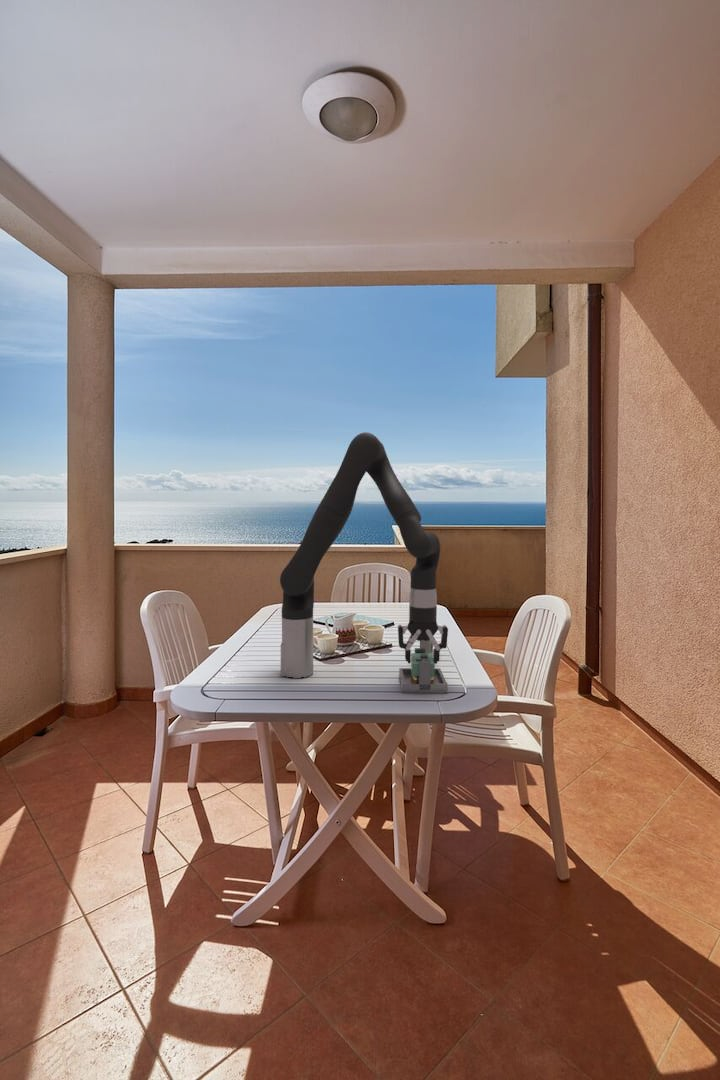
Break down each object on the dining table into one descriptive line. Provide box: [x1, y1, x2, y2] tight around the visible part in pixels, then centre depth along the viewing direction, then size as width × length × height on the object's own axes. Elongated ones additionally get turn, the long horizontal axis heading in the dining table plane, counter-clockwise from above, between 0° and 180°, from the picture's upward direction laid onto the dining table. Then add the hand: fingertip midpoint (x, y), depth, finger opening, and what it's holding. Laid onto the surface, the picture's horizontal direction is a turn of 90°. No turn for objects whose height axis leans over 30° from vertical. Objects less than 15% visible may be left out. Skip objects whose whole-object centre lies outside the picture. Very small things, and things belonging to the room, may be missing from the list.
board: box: [410, 652, 436, 677], centre depth 140 cm, size 6×10×4 cm, turn 176°
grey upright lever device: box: [419, 640, 434, 660], centre depth 166 cm, size 14×6×25 cm
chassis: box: [398, 647, 448, 695], centre depth 140 cm, size 12×13×8 cm
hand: (422, 662), depth 140 cm, fingers open, 7 cm apart
